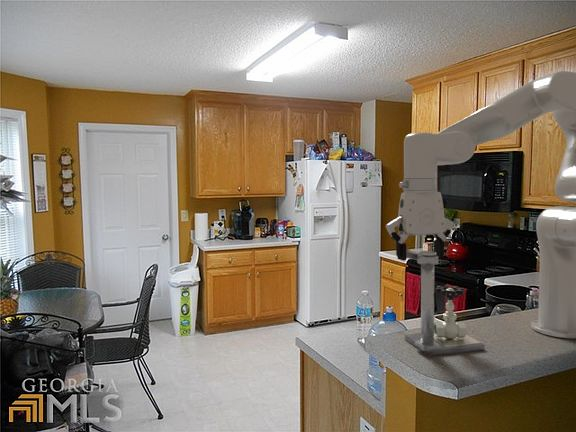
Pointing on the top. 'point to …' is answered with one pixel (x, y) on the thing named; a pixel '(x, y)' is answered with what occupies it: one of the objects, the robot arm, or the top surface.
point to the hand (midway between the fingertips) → (420, 258)
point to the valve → (450, 315)
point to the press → (427, 337)
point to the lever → (422, 258)
